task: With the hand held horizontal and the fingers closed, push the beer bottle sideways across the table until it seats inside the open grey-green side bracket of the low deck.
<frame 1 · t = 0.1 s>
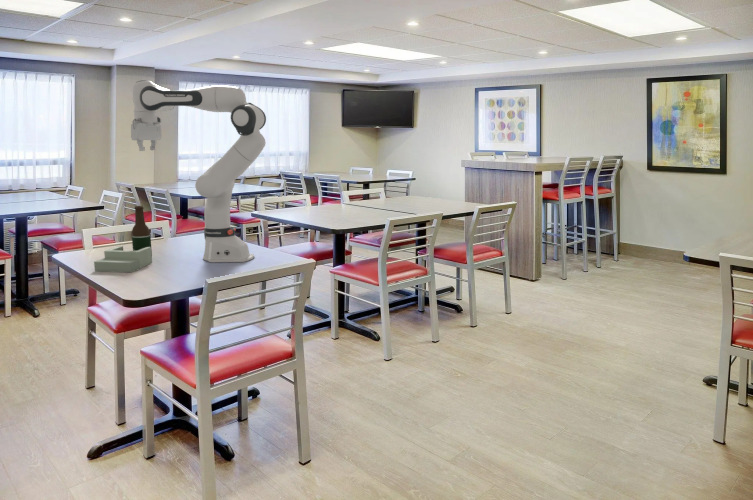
hand: (147, 150, 266), 48 cm above the table, tool pointing down, fingers open, 8 cm apart
beer bottle: (143, 259, 269), on the table
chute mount: (131, 264, 259), on the table
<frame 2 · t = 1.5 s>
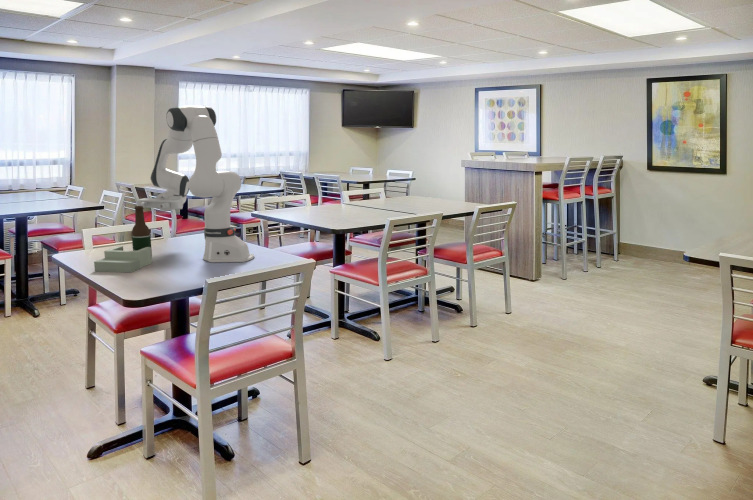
hand: (152, 205, 276), 23 cm above the table, tool horizontal, fingers open, 8 cm apart
nothing on the table moved.
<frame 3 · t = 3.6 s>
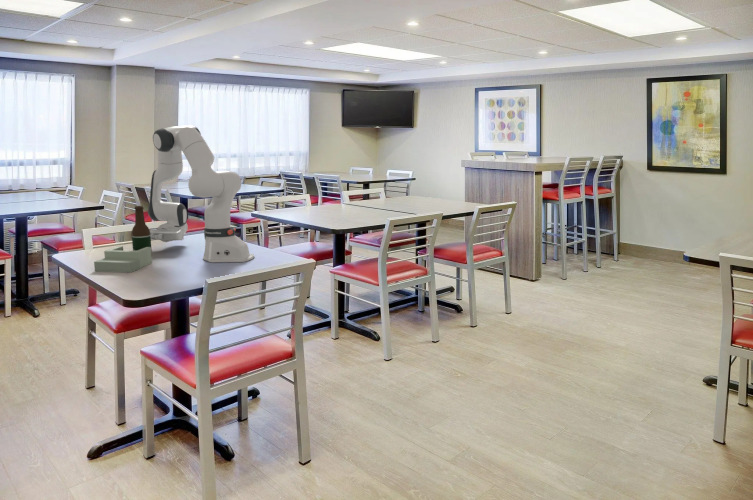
hand: (152, 237, 277), 8 cm above the table, tool horizontal, fingers closed
nothing on the table moved.
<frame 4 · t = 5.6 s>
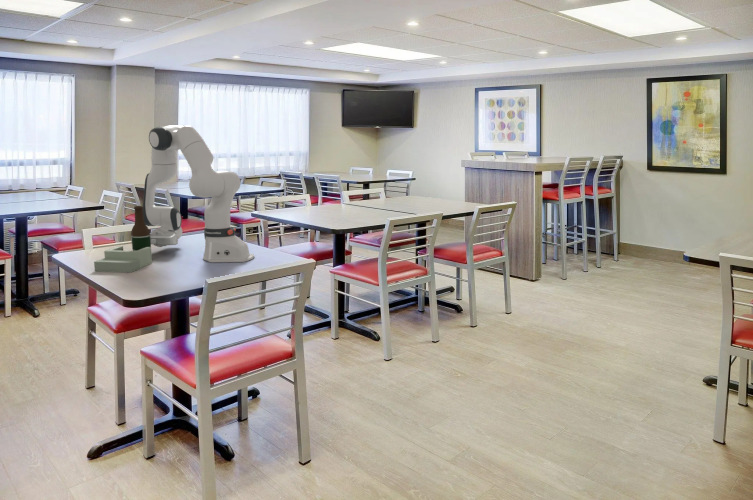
hand: (145, 242, 271), 7 cm above the table, tool horizontal, fingers closed, pressing on beer bottle
beer bottle: (142, 259, 269), on the table, touching gripper
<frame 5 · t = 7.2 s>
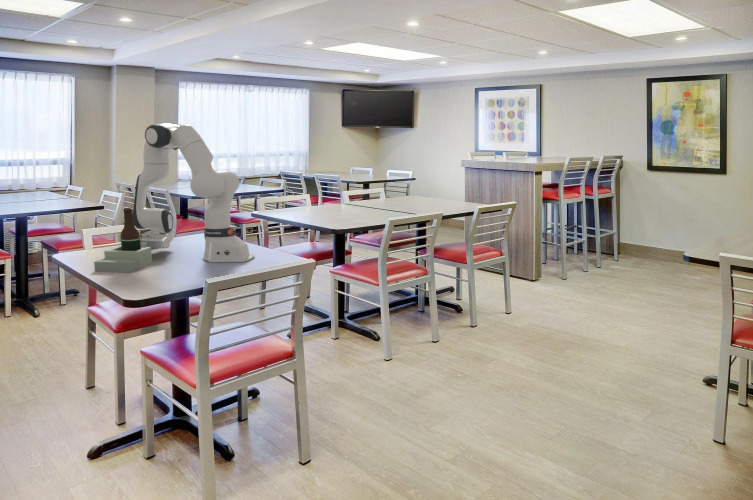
hand: (135, 245, 263), 7 cm above the table, tool horizontal, fingers closed, pressing on beer bottle
beer bottle: (132, 263, 261), on the table, touching gripper
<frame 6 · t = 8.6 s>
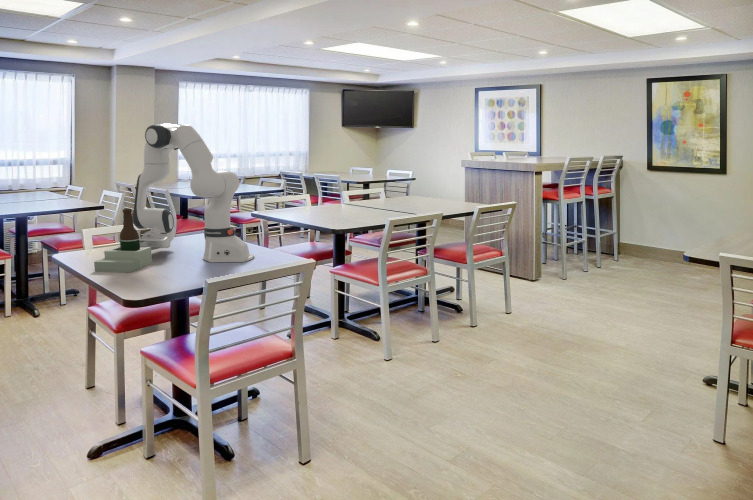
hand: (136, 245, 263), 7 cm above the table, tool horizontal, fingers closed
beer bottle: (131, 264, 260), on the table
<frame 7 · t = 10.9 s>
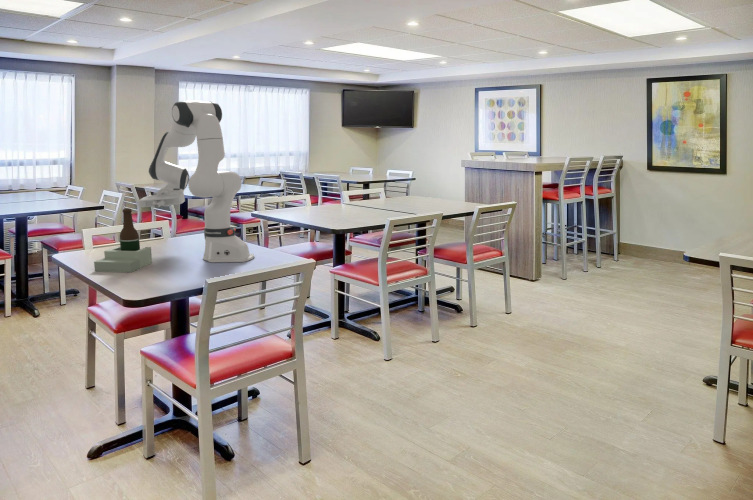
hand: (155, 205, 275), 23 cm above the table, tool horizontal, fingers closed
nothing on the table moved.
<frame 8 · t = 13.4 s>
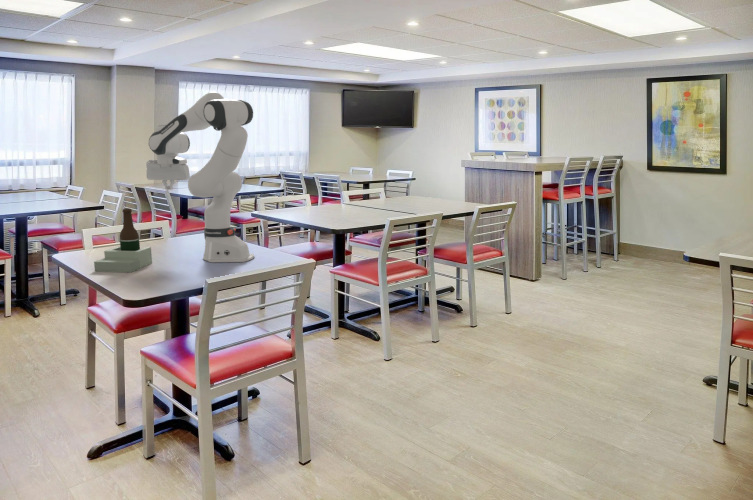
hand: (168, 189, 285), 29 cm above the table, tool pointing down, fingers closed
nothing on the table moved.
at the end: beer bottle inside the target area on the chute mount (0.9 cm from its centre), point 0.0 cm above the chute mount's base; beer bottle tilted 0°; beer bottle moved 9.2 cm from its start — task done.
